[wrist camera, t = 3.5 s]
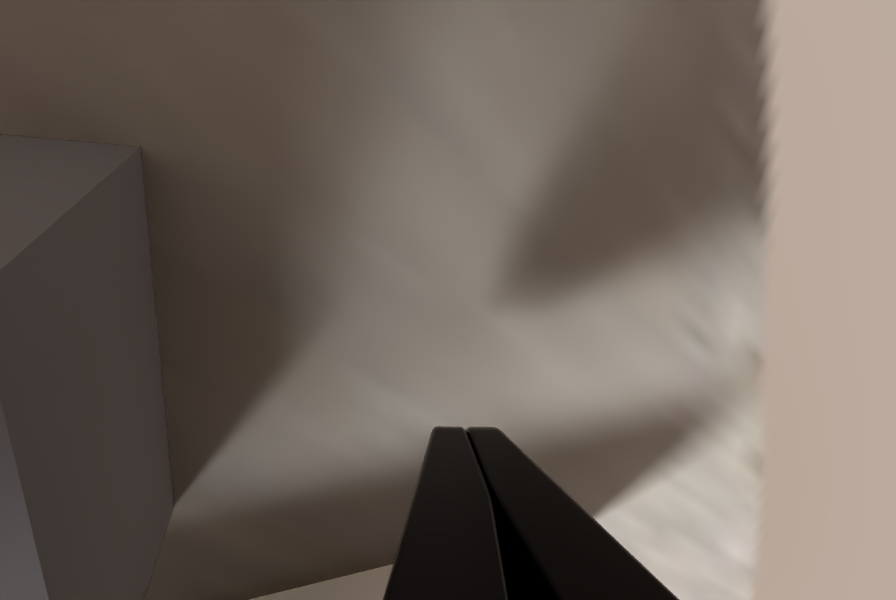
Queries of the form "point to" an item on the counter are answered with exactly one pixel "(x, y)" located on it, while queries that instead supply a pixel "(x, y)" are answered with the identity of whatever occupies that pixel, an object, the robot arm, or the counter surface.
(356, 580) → the cover
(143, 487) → the tilted gray brick
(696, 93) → the counter surface
